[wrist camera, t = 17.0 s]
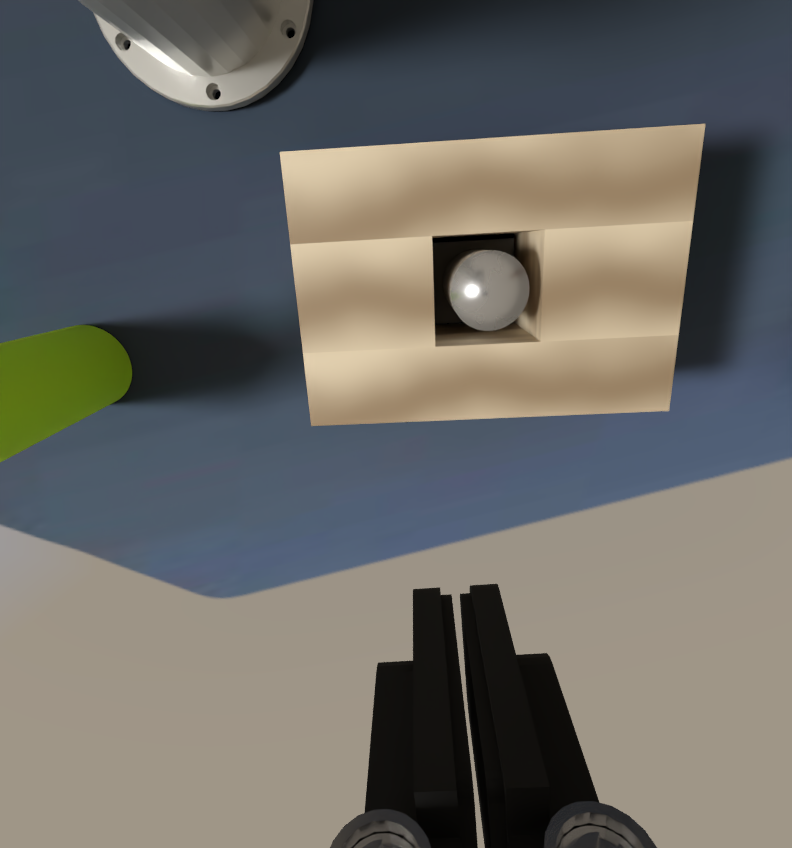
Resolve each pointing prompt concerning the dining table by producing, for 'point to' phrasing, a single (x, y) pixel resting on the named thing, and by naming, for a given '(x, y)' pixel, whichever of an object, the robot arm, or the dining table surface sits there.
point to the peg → (486, 288)
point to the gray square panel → (441, 259)
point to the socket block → (533, 247)
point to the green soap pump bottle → (57, 382)
